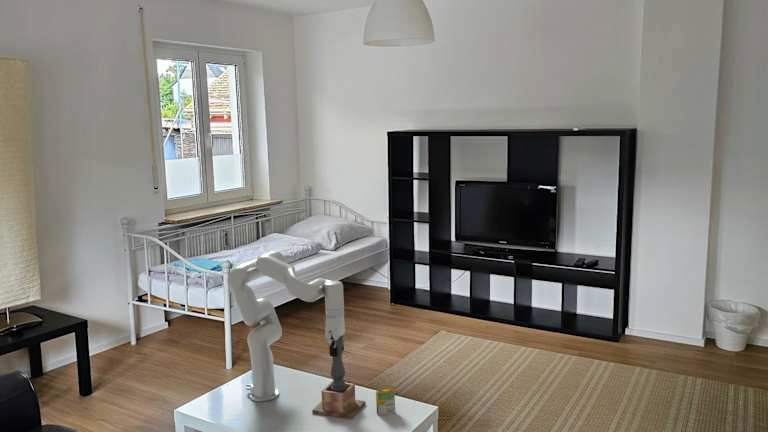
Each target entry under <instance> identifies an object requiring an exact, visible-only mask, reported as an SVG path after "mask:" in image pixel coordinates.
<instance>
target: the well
mask: <svg viewBox="0 0 768 432" xmlns="http://www.w3.org/2000/svg"><path fill="white" fill-rule="evenodd" d="M332 382H333V380H332V381H331V382H330V383H329V384H327V385H326V386H325V387H324V388H323V389H322V390H321V401H320V402H319V403H318V404H317V405H316V406H314V408H313V409H311V412H312V413H311V414H313V415H318V416H319V415H321V416H326V417H333V418H338V419H339V418H340V419H346V420H353V419H354V418H355V417H356V416H357V415H358V413H360V412H361V411H362V409H363V408H364V407H365V406H366V401H365V400H360V399H356V384H355V383H349V382H345V385H346V391H345V392H344V393H339V392H332V391H331V386H332Z"/></svg>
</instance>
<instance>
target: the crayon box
mask: <svg viewBox="0 0 768 432" xmlns="http://www.w3.org/2000/svg"><path fill="white" fill-rule="evenodd" d="M395 395H396V394H395V386H390V387H383V388H378V389H377V390H376V391H375V398H376V399H375V400H376V403H375V404H376V414H377V415H378V416H385V415H386V416H387V415H391V414H396V400H395V399H396V398H395Z"/></svg>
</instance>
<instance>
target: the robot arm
mask: <svg viewBox="0 0 768 432" xmlns="http://www.w3.org/2000/svg"><path fill="white" fill-rule="evenodd" d="M262 277H268V278H270V279H271V280H274V281H276V282H278V283H281V284H282V285H284V286H285V289H286V290H287V291H288V293H290V294H291V295H292V296H294V297H295V298H298V299H299V300H301V301H304V302H307V303H314V302H315V301H317V300H318V299H321V298H323V297H324V302H325V305H324V306H325V324H324V325H325V326H324V332H325V333H324V336H325V338H324V339H325V340H326V344H327V345H328V348H329V356H330V357H332V356H333V357H337V347H336V342H337V340H338V339H339V338H340V337H341V336H343V346H342V348H341V349H342V350H343V352H344V351H345V345H344V341H345V338H344V337H345V333H346V324H345V323H346V322H345V302H344V298H345V297H344V284H343V282H342V281H341V280H340V281H339V280H329V279H326V278H323V277H320V278H316V279H314V280H312V281H310V282H304V281H302V280H301V279H298V278H297V277H296V268H295V266H294V265H292V264H290V263H288V262H286V258H285V255H284V254H283V253H281V252H280V251H277V250H272V251H269V252H267V253H264V254H262V255H260V256H259V257H256V258H255V259H251V260H250V261H247V262H243V263H241V264H238V265H237V266H235V267H234V268H233V269H232V270H230V272H229V274H228V277H227V285H228V288H229V290H230V292H231V294H232V296H233V298H234V300H235V303H236V306H237V308H238V311H239V314H240V316H241V318H242V321H243V322H244V324H245V325H247V326H249V327H251V326H255V325H257V324H260V325H258V326H256V327H254V328H253V329H252V330H250V332H249V333H248V335H247V340H246V341H247V346H248V350H249V354H250V365H251V379H252V383H247V384H246V388H245V389H246V391H250V393H249V398H250V400H251V401H254V402H260V403H262V402H269V401H273V400H274V399H276V398H278V396H279V393H280V392H279V389H278V388H276V385H275V368H274V354H273V353H272V350H271V348H270V346H271V345H272V344H273V343H275V342H277V341H278V340H279V339H281V336H282V333H283V331H282V330H283V329H282V326H281V323H280V321H279V318H278V314H277V313H276V310H275V307H274V305H273V304H272V302H271V301H270V300H269V299H267V298H264V297H261V298H260V297H259V298H258V299H257V297H256V294H255V292H254V290H253V289H252V288H251V286H250V285H248V284H249V283H250V282H253V281H256V280H258V279H260V278H262ZM332 338H334V340H332ZM332 341H334V344H333V343H332ZM333 357H332V358H333Z"/></svg>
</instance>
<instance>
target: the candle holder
mask: <svg viewBox="0 0 768 432" xmlns="http://www.w3.org/2000/svg"><path fill="white" fill-rule="evenodd" d="M343 338H344V337H343V336H341V337H340V338H339V339H338V340H337V342H336V347H337V357H333V356H331V357H332V364H331V369H330V376H331V378H332V381H333V382H332V381H331V382H332V386H331V391H332V392H339V393H344V392H345V391H346V385H345V383H346V381H345V380H344V377H345V375H346V370H345V366H344V363H343V356H342V355H343V353H344V351H343V350H342V349H341V348H342V346H343V342H344V341H343ZM332 340H334V338H332ZM332 343H333V344H334V341H332Z"/></svg>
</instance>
